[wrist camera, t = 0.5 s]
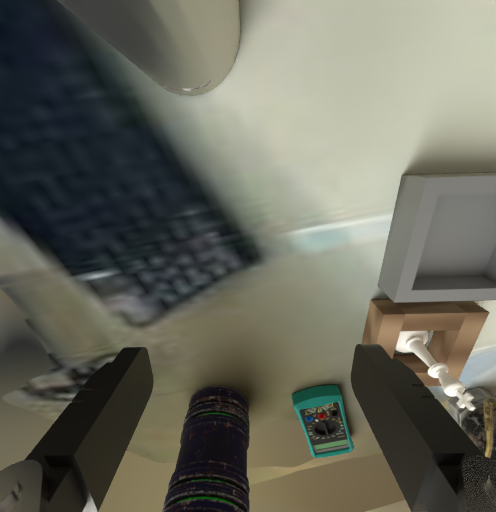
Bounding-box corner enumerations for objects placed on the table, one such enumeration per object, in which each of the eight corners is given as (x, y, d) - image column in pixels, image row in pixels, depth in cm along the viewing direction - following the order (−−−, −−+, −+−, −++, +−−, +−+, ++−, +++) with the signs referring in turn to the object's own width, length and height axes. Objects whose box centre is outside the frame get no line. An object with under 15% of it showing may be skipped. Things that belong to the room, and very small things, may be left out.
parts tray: (401, 175, 23) (426, 177, 20) (532, 170, 23) (578, 172, 20) (377, 286, 28) (394, 302, 25) (484, 283, 28) (514, 299, 25)
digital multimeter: (335, 378, 35) (342, 397, 33) (349, 435, 41) (356, 454, 38) (289, 388, 36) (292, 407, 34) (308, 442, 42) (313, 461, 39)
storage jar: (210, 432, 40) (190, 575, 26) (176, 399, 37) (132, 543, 23) (260, 413, 38) (266, 558, 24) (228, 377, 35) (215, 520, 21)
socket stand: (370, 299, 29) (383, 314, 26) (466, 297, 29) (489, 312, 26) (356, 368, 34) (365, 387, 31) (438, 366, 34) (455, 385, 31)
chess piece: (432, 325, 31) (511, 396, 21) (413, 352, 33) (478, 428, 23) (399, 317, 30) (465, 387, 21) (381, 345, 32) (435, 420, 23)
